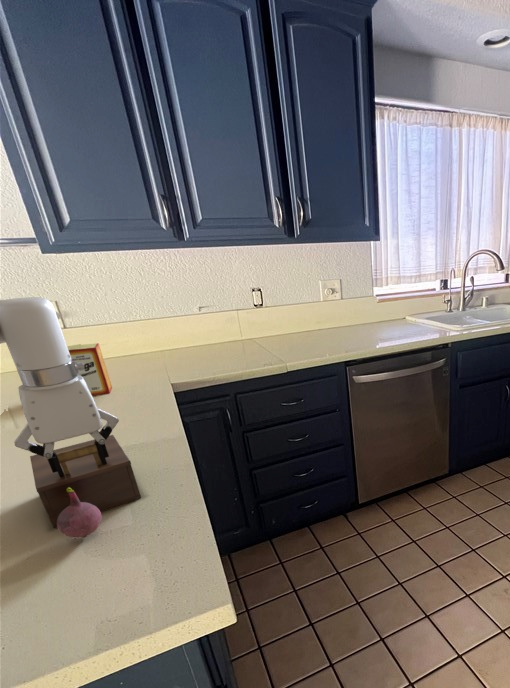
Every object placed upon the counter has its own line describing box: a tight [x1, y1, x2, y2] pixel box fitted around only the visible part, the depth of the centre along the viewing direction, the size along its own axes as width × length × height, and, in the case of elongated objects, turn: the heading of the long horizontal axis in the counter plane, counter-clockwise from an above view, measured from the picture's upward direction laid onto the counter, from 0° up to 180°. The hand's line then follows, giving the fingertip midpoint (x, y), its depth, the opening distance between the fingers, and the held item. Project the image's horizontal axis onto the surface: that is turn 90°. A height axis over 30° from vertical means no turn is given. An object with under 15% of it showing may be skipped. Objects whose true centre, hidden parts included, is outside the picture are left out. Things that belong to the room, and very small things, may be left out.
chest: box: [37, 463, 142, 529], centre depth 85 cm, size 16×15×8 cm
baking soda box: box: [67, 342, 113, 397], centre depth 141 cm, size 10×6×16 cm
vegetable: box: [56, 488, 102, 539], centre depth 73 cm, size 6×6×10 cm
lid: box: [29, 434, 132, 493], centre depth 82 cm, size 16×15×5 cm
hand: (82, 466), depth 79 cm, fingers closed on lid, 6 cm apart
